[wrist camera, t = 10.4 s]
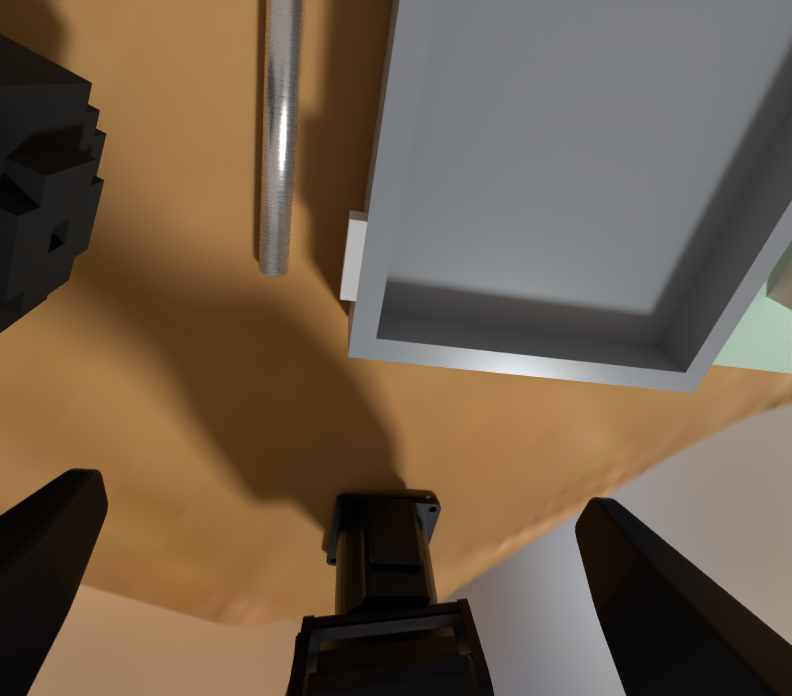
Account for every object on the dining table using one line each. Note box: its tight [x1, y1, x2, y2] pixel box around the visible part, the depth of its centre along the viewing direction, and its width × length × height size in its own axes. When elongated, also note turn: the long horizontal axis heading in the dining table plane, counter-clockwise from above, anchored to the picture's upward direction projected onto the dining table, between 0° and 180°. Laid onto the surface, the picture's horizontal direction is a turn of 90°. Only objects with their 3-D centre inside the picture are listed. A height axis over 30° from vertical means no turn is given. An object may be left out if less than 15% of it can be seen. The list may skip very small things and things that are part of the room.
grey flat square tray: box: [340, 0, 792, 393], centre depth 16 cm, size 18×17×3 cm
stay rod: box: [259, 0, 305, 276], centre depth 15 cm, size 14×1×1 cm
